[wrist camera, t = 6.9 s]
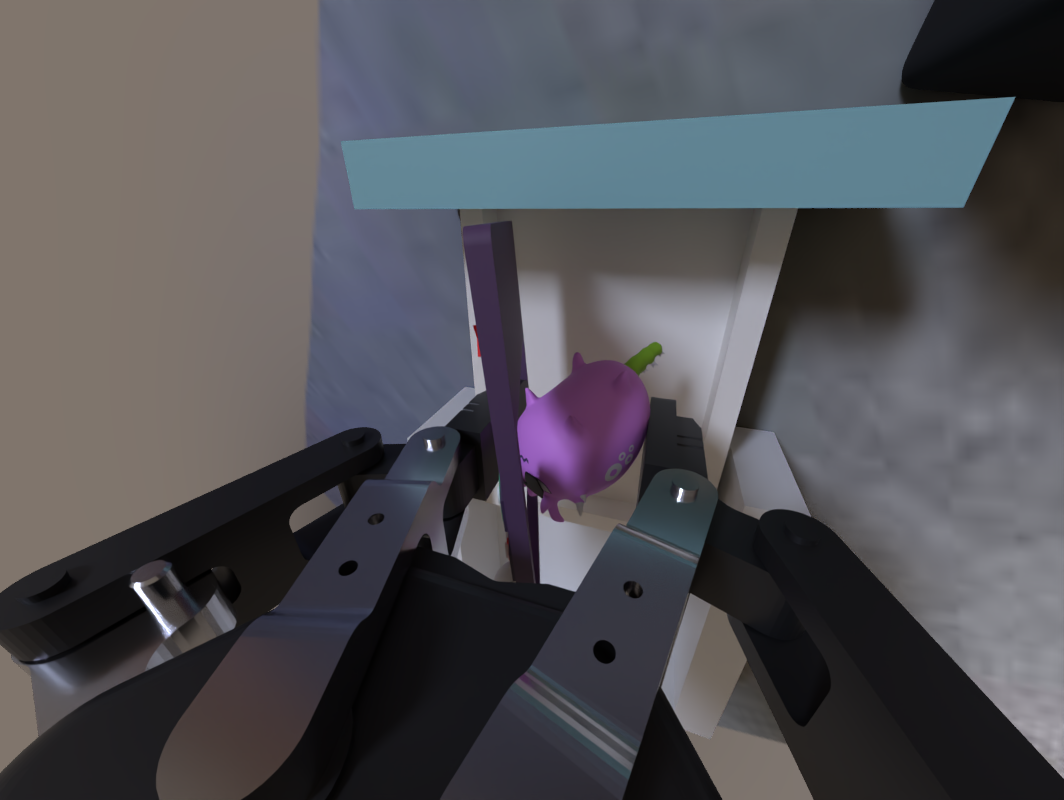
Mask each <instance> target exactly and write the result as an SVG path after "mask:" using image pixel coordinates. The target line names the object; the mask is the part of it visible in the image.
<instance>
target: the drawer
mask: <svg viewBox="0 0 1064 800" xmlns="http://www.w3.org/2000/svg"><path fill="white" fill-rule="evenodd" d="M1014 99H1015V97H1006V98H991V99H976V100H960V101H945V102H930V103H915V104H900V105H884V106H869V107H854V108H839V109H824V110H808V111H793V112H778V113H763V114H748V115H732V116H717V117H702V118H687V119H672V120H656V121H641V122H626V123H611V124H596V125H580V126H565V127H550V128H535V129H520V130H504V131H489V132H474V133H459V134H444V135H428V136H413V137H398V138H383V139H368V140H352V141H341V144H342V149H343V154H344V159H345V164H346V169H347V174H348V179H349V184H350V189H351V194H352V199H353V204H354V209H460V220H461V232H462V244H463V227H464V226H470V225H478V224H486V223H493V222H502V221H512V226H513V235H514V245H515V255H516V265H517V275H518V285H519V295H520V305H521V315H522V325H523V335H524V345H525V355H526V365H527V375H528V385H529V389H530V390H531V391H532V392H533V393H534V394H535V395H536V396H537V397H542V396H544V395H545V394H546V393H548V392H549V391H551V390H552V389H553V388H554V387H556V386H557V385H558V384H559V383H561V382H562V381H563V380H564V379H566V378H567V377H568V376H569V375H570V374H571V372H572V362H573V356H574V354H575V353H576V352H579V353H580V354H581V356H582V358H583V360H584V362H585V363H586V364H589V363H592V362H596V361H601V360H613V361H617V362H620V363H623V364H625V363H626V362H627V361H628V360H629V359H630V358H631V357H633V356H635V355H636V354H638V353H639V352H640V351H641V350H642V349H643V348H645V347H647V346H648V345H650V344H651V343H653V342H658V343H659V344H661V346H662V351H663V352H664V353H665V354H661V357H660V356H659V355H658V356H656V357H655V359H654V361H655V363H657V364H658V365H654V367H652V365H651V364H648V365H647V367H646V369H647V370H649V371H645V373H640V375H639V378H640V379H641V380H642V382H643V384H644V386H645V388H646V390H647V393H648V397H649V402H650V401H651V397H657V398H665V399H672V400H676V412H677V416H679V417H686V418H693V419H694V421H695V422H696V423H697V424H698V425H699V426H700V427H701V429H702V437H703V444H704V452H705V460H706V467H707V475H708V480H709V481H710V482H711V483H712V484H713V485H714V486H715V488H716V489H717V488H718V484H719V481H720V478H721V474H722V471H723V467H724V464H725V460H726V457H727V453H728V450H729V446H730V443H731V439H732V436H733V432H734V429H735V425H736V422H737V419H738V415H739V412H740V408H741V405H742V401H743V398H744V394H745V391H746V387H747V384H748V380H749V377H750V373H751V370H752V367H753V363H754V360H755V356H756V353H757V349H758V346H759V342H760V339H761V335H762V332H763V328H764V325H765V321H766V318H767V315H768V311H769V308H770V304H771V301H772V297H773V294H774V290H775V287H776V283H777V280H778V276H779V273H780V269H781V266H782V262H783V259H784V256H785V252H786V249H787V245H788V242H789V238H790V235H791V231H792V228H793V224H794V221H795V217H796V214H797V210H798V208H964V205H965V203H966V201H967V199H968V197H969V195H970V193H971V191H972V188H973V186H974V184H975V182H976V180H977V178H978V176H979V173H980V171H981V169H982V167H983V165H984V163H985V161H986V159H987V156H988V154H989V152H990V150H991V148H992V146H993V144H994V142H995V139H996V137H997V135H998V133H999V131H1000V129H1001V127H1002V125H1003V122H1004V120H1005V118H1006V116H1007V114H1008V112H1009V110H1010V108H1011V105H1012V103H1013V101H1014ZM463 256H464V267H465V279H466V291H467V303H468V314H469V326H470V338H471V350H472V361H473V373H474V385H475V396H476V395H477V394H479V393H481V392H484V391H486V386H485V380H484V373H483V367H482V360H481V357H478V350H477V337H476V334H475V331H474V327H473V325H476V322H475V315H474V309H473V302H472V296H471V289H470V283H469V277H468V270H467V264H466V257H465V251H464V244H463ZM643 446H644V443H643V445H642V448H641V450H640V452H639V454H638V456H637V457H636V459H635V461H634V462H633V464H632V465H631V466H630V468H629V469H628V470H627V472H626V473H625V474H624V475H623V476H622V477H621V478H620V479H619V480H617V481H616V482H615V483H614V484H612V485H611V486H609V487H608V488H606V489H604V490H602V491H600V492H598V493H596V494H593V495H590V496H588V497H587V498H586V503H585V502H584V506H583V512H582V515H581V516H580V515H579V513H578V511H577V508H576V504H575V503H574V502H572V501H570V500H567V499H563V500H560V501H559V502H558V509H559V512H560V515H561V516H562V517H563V519H564V520H565V521H566V522H571V523H575V524H579V525H583V526H587V527H591V528H596V529H600V530H604V531H608V532H612V531H613V529H614V528H615V527H616V525H617V524H619V523H621V524H623V525H625V526H626V524H627V523H628V521H629V519H630V517H631V516H632V514H633V512H634V510H635V509H636V503H637V494H638V486H639V477H640V469H641V461H642V453H643ZM497 487H499V481H498V483H497V484H496V486H495V488H494V489H493V491H492V493H491V494H490V496H489V497H488V499H487V501H484V502H487V503H491V504H495V505H499V506H501V505H500V504H499V502H498V495H497ZM524 490H525V499H526V507H527V486H526V487H524ZM541 500H542V498H540V497H539V496H538V515H541V516H545V517H550V518H551V516H550V514H549V511H548V510H547V511H546V512H545V513H543V514H542V513H541V511H540V503H541Z"/></svg>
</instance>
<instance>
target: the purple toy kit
mask: <svg viewBox="0 0 1064 800" xmlns="http://www.w3.org/2000/svg"><path fill="white" fill-rule="evenodd" d="M463 244H464V251H465V257H466V264H467V270H468V277H469V283H470V289H471V296H472V302H473V309H474V315H475V322H476V325H473V327H474V331H475V334H476V337H477V350H478V357H481V360H482V367H483V373H484V380H485V386H486V393H487V399H488V405H489V412H490V418H491V425H492V431H493V438H494V444H495V450H496V457H497V463H498V470H499V487H497V495H498V502H499V504H500V505H501V513H502V519H503V523H504V529H505V532H506V542H505V554H506V558H509V561H508V562H506V563H505V564H503V565H502V566H501V567H500V569H499V570H498V571H497V573H496V575H495V577H494V581H499V582H519V583H540V553H539V517H538V496H539V497H540V498H542V500H541V503H540V511H541V513H542V514H543V513H545V512H546V511H547V510H548V511H549V514H550V516H551V518H552V519H553V520H554V521H556V522H564V521H565V520H564V519H563V517H562V516H561V515H560V512H559V509H558V502H559V501H560V500H563V499H567V500H570V501H572V502H574V503H575V504H576V508H577V511H578V513H579V515H580V516H581V515H582V512H583V506H584V502H585V503H586V498H587V497H588V496H590V495H593V494H596V493H598V492H600V491H602V490H604V489H606V488H608V487H609V486H611V485H612V484H614V483H615V482H616V481H617V480H619V479H620V478H621V477H622V476H623V475H624V474H625V473H626V472H627V470H628V469H629V468H630V466H631V465H632V464H633V462H634V461H635V459H636V457H637V456H638V454H639V452H640V450H641V448H642V445H643V443H644V441H645V438H646V435H647V430H648V423H649V417H650V402H649V397H648V393H647V390H646V388H645V386H644V384H643V382H642V380H641V379H640V378H639V375H640V373H645V371H649V370H647V369H646V367H647V365H648V364H651V365H652V367H654V365H658V364H657V363H655V361H654V359H655V357H656V356H658V355H659V356H660V357H661V354H665V353H664V352H663V351H662V346H661V344H659V343H658V342H653V343H651V344H650V345H648V346H647V347H645V348H643V349H642V350H641V351H640V352H639V353H638V354H636V355H635V356H633V357H631V358H630V359H629V360H628V361H627V362H626V363H625V364H623V363H620V362H617V361H613V360H601V361H596V362H592V363H589V364H586V363H585V362H584V360H583V358H582V356H581V354H580V353H579V352H576V353H575V354H574V356H573V362H572V372H571V374H570V375H569V376H568V377H567V378H566V379H564V380H563V381H562V382H561V383H559V384H558V385H557V386H556V387H554V388H553V389H552V390H551V391H549V392H548V393H546V394H545V395H544V396H542V397H537V396H536V395H535V394H534V393H533V392H532V391H531V390H530V389H529V388H525V392H526V403H527V406H526V409H525V411H524V412H523V413H522V415H521V416H520V418H519V420H518V408H519V392H520V379H522V380H527V382H528V375H527V365H526V355H525V345H524V335H523V325H522V315H521V305H520V295H519V285H518V275H517V265H516V255H515V245H514V235H513V226H512V221H502V222H493V223H486V224H478V225H470V226H464V227H463ZM528 386H529V385H528ZM526 486H527V507H526V499H525V490H524V487H526Z"/></svg>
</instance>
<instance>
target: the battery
mask: <svg viewBox="0 0 1064 800" xmlns="http://www.w3.org/2000/svg"><path fill="white" fill-rule="evenodd" d="M902 81H903V83H904V84H905V85H906V86H907V87H909V88H914V89H923V90H934V91H945V92H957V93H968V94H979V95H990V96H1002V97H1015V98H1024V99H1035V100H1047V101H1058V102H1064V0H935V1H934V3H933V5H932V7H931V9H930V11H929V13H928V15H927V17H926V19H925V21H924V23H923V25H922V27H921V29H920V31H919V34H918V36H917V38H916V40H915V42H914V44H913V46H912V48H911V50H910V52H909V55H908V57H907V59H906V61H905V64H904V67H903V70H902Z"/></svg>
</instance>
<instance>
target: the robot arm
mask: <svg viewBox="0 0 1064 800" xmlns="http://www.w3.org/2000/svg"><path fill="white" fill-rule="evenodd" d="M525 388H529V386H528V382H527V380H522V379H520V392H519V408H518V420H519V418H520V416H521V415H522V413H523V412H524V411H525V409H526V406H527V403H526V392H525ZM498 481H499V470H498V463H497V457H496V450H495V444H494V438H493V431H492V425H491V418H490V412H489V405H488V399H487V393H486V391H484V392H481V393H479V394H477V395H476V396H475V397H474V398H473V399H472V400H471V401H470V402H469V404H467V405H466V406H465V407H464V408H463V410H461V411H460V412H459V413H458V414H457V415H456V416H455V417H454V418H453V419H452V420H451V421H450V422H449V423H448V424H447V425H445V426H436V427H429V428H426V429H423V430H420V431H418V432H416V433H415V434H414V435H412V436H411V437H410V439H409V440H408V442H407V444H383V442H382V438H381V434H380V432H379V431H378V430H376V429H373V428H367V427H361V428H354V429H349V430H346V431H343V432H341V433H339V434H336V435H334V436H332V437H330V438H328V439H325V440H323V441H321V442H319V443H317V444H314V445H312V446H310V447H308V448H306V449H304V450H301V451H299V452H297V453H295V454H292V455H290V456H288V457H286V458H283V459H281V460H279V461H277V462H275V463H272V464H270V465H268V466H266V467H264V468H262V469H259V470H257V471H255V472H253V473H251V474H248V475H246V476H244V477H242V478H240V479H237V480H235V481H233V482H231V483H228V484H226V485H224V486H222V487H220V488H217V489H215V490H213V491H211V492H208V493H206V494H204V495H202V496H200V497H197V498H195V499H193V500H191V501H189V502H187V503H184V504H182V505H180V506H178V507H176V508H173V509H171V510H169V511H167V512H164V513H162V514H160V515H158V516H156V517H154V518H151V519H149V520H147V521H145V522H142V523H140V524H138V525H136V526H134V527H131V528H129V529H127V530H125V531H122V532H121V533H118V534H116V535H114V536H112V537H109V538H107V539H105V540H103V541H101V542H98V543H96V544H94V545H92V546H89V547H87V548H85V549H83V550H81V551H78V552H76V553H74V554H72V555H70V556H67V557H65V558H63V559H61V560H59V561H57V562H54V563H52V564H50V565H48V566H45V567H43V568H41V569H39V570H37V571H35V572H33V573H31V574H29V575H27V576H25V577H24V578H22V579H20V580H19V581H17V582H15V583H14V584H12V585H11V586H9V587H8V588H6V589H5V590H4V591H2V592H1V593H0V645H1V646H2V647H3V648H5V649H6V650H7V651H8V652H9V653H10V654H11V658H12V660H13V662H15V663H16V664H17V665H18V666H19V667H20V668H21V669H23V670H24V671H25V672H26V673H27V674H28V675H30V676H31V679H32V688H33V696H34V703H35V712H36V720H37V728H38V736H39V737H38V738H37V739H36V740H35V741H34V742H32V743H31V744H30V745H29V746H28V747H27V748H26V749H24V750H23V751H22V752H21V753H20V754H19V755H18V756H17V757H16V758H15V759H14V760H13V761H12V762H11V763H10V764H9V765H8V766H7V767H6V768H5V769H4V770H3V771H2V772H1V773H0V800H722V798H721V796H720V794H719V793H718V791H717V789H716V787H715V785H714V784H713V781H712V780H711V778H710V776H709V774H708V772H707V770H706V769H705V767H704V765H703V763H702V761H701V759H700V758H699V756H698V754H697V752H696V750H695V748H694V747H693V745H692V743H691V741H690V739H689V737H688V736H687V734H686V732H685V730H684V728H683V726H682V725H681V723H680V721H679V719H678V717H677V715H676V714H675V712H674V710H673V708H672V706H671V704H670V703H669V701H668V699H667V697H666V695H665V693H664V692H663V690H662V685H663V681H664V678H665V675H666V671H667V668H668V665H669V661H670V658H671V655H672V651H673V648H674V645H675V642H676V638H677V635H678V632H679V629H680V625H681V622H682V619H683V616H684V612H685V609H686V606H687V603H688V600H689V596H690V593H691V594H693V595H695V596H696V597H698V598H700V599H702V600H704V601H705V602H707V603H709V604H711V605H713V606H714V607H716V608H718V609H720V610H722V611H723V612H725V613H727V617H728V620H729V623H730V625H731V627H732V629H733V632H734V634H735V636H736V638H737V640H738V642H739V644H740V646H741V648H742V650H743V652H744V655H745V657H746V659H747V661H748V663H749V665H750V667H751V669H752V671H753V673H754V675H755V678H756V680H757V682H758V684H759V686H760V688H761V690H762V692H763V694H764V696H765V698H766V701H767V703H768V705H769V707H770V709H771V711H772V713H773V715H774V717H775V719H776V721H777V724H778V726H779V728H780V730H781V732H782V734H783V736H784V738H785V740H786V742H787V744H788V747H789V748H790V751H791V753H792V755H793V757H794V759H795V761H796V763H797V765H798V767H799V770H800V772H801V774H802V776H803V778H804V780H805V782H806V784H807V786H808V788H809V790H810V793H811V795H812V797H813V799H814V800H1064V779H1063V778H1062V777H1061V776H1060V774H1059V773H1058V772H1057V771H1056V770H1055V769H1054V768H1053V767H1052V766H1051V765H1050V764H1049V763H1048V762H1047V761H1046V759H1045V758H1044V757H1043V756H1042V755H1041V754H1040V753H1039V752H1038V751H1037V750H1036V749H1035V748H1034V747H1033V745H1032V744H1031V743H1030V742H1029V741H1028V740H1027V739H1026V738H1025V737H1024V736H1023V735H1022V734H1021V733H1020V731H1019V730H1018V729H1017V728H1016V727H1015V726H1014V725H1013V724H1012V723H1011V722H1010V721H1009V720H1008V719H1007V717H1006V716H1005V715H1004V714H1003V713H1002V712H1001V711H1000V710H999V709H998V708H997V707H996V706H995V705H994V703H993V702H992V701H991V700H990V699H989V698H988V697H987V696H986V695H985V694H984V693H983V692H982V691H981V690H980V688H979V687H978V686H977V685H976V684H975V683H974V682H973V681H972V680H971V679H970V678H969V677H968V676H967V674H966V673H965V672H964V671H963V670H962V669H961V668H960V667H959V666H958V665H957V664H956V663H955V662H954V660H953V659H952V658H951V657H950V656H949V655H948V654H947V653H946V652H945V651H944V650H943V649H942V648H941V646H940V645H939V644H938V643H937V642H936V641H935V640H934V639H933V638H932V637H931V636H930V635H929V634H928V632H927V631H926V630H925V629H924V628H923V627H922V626H921V625H920V624H919V623H918V622H917V621H916V620H915V619H914V617H913V616H912V615H911V614H910V613H909V612H908V611H907V610H906V609H905V608H904V607H903V606H902V605H901V603H900V602H899V601H898V600H897V599H896V598H895V597H894V596H893V595H892V594H891V593H890V592H889V591H888V589H887V588H886V587H885V586H884V585H883V584H882V583H881V582H880V581H879V580H878V579H877V578H876V577H875V575H874V574H873V573H872V572H871V571H870V570H869V569H868V568H867V567H866V566H865V565H864V564H863V563H862V561H861V560H860V559H859V558H858V557H857V556H856V555H855V554H854V553H853V552H852V551H851V550H850V549H849V548H848V546H847V545H846V544H845V543H844V542H843V541H842V540H841V539H840V538H839V537H838V536H837V535H836V534H835V533H834V532H833V531H832V530H831V529H830V528H829V527H827V526H826V525H824V524H823V523H821V522H820V521H818V520H816V519H814V518H812V517H810V516H808V515H806V514H803V513H800V512H796V511H792V510H786V509H773V510H769V511H767V512H765V513H764V514H762V516H761V517H760V520H759V519H756V518H754V517H752V516H749V515H747V514H744V513H742V512H739V511H737V510H735V509H733V508H731V507H730V506H728V505H726V504H725V503H723V502H722V501H721V500H720V499H718V492H717V489H716V488H715V486H714V485H713V484H712V483H711V482H710V481H709V480H708V475H707V467H706V460H705V452H704V444H703V437H702V429H701V427H700V426H699V425H698V424H697V423H696V422H695V421H694V419H693V418H686V417H679V416H677V412H676V400H672V399H665V398H657V397H651V401H650V417H649V423H648V430H647V435H646V438H645V441H644V446H643V453H642V461H641V469H640V477H639V486H638V494H637V503H636V509H635V510H634V512H633V514H632V516H631V517H630V519H629V521H628V523H627V524H626V526H625V525H623V524H621V523H619V524H617V525H616V527H615V528H614V529H613V531H612V533H611V534H610V536H609V538H608V539H607V541H606V542H605V544H604V546H603V547H602V549H601V551H600V552H599V554H598V556H597V557H596V559H595V561H594V562H593V564H592V566H591V567H590V569H589V571H588V572H587V574H586V576H585V577H584V579H583V581H582V582H581V584H580V586H579V587H578V589H577V590H576V592H575V591H571V590H568V589H564V588H561V587H557V586H554V585H550V584H540V583H519V582H499V581H494V580H492V579H490V578H488V577H487V576H485V575H483V574H482V573H480V572H479V571H477V570H475V569H474V568H472V567H470V566H469V565H467V564H466V563H464V562H462V561H461V560H459V559H457V556H458V552H459V549H460V545H461V541H462V538H463V534H464V531H465V527H466V523H467V520H468V516H469V509H468V504H469V503H470V501H471V500H472V498H474V499H478V500H482V501H487V499H488V497H489V496H490V494H491V493H492V491H493V489H494V488H495V486H496V484H497V483H498ZM337 485H338V488H339V491H340V494H341V497H342V500H343V504H341V505H340V506H338V507H336V508H335V509H333V510H331V511H330V512H328V513H326V514H325V515H323V516H321V517H320V518H318V519H316V520H314V521H313V522H311V523H309V524H308V525H306V526H304V527H303V528H301V529H299V530H298V531H296V532H294V533H292V530H291V528H290V525H289V519H290V516H291V514H292V513H293V512H294V510H295V509H297V508H298V507H299V506H301V505H302V504H304V503H306V502H308V501H310V500H311V499H313V498H315V497H317V496H319V495H320V494H322V493H324V492H326V491H328V490H329V489H331V488H333V487H335V486H337ZM212 568H213V569H212ZM211 569H212V570H211ZM278 604H279V605H278ZM277 605H278V606H277ZM275 606H277V607H276V608H275V609H273V610H271V609H272V608H274V607H275ZM270 610H271V611H270ZM268 611H269V612H268Z"/></svg>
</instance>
